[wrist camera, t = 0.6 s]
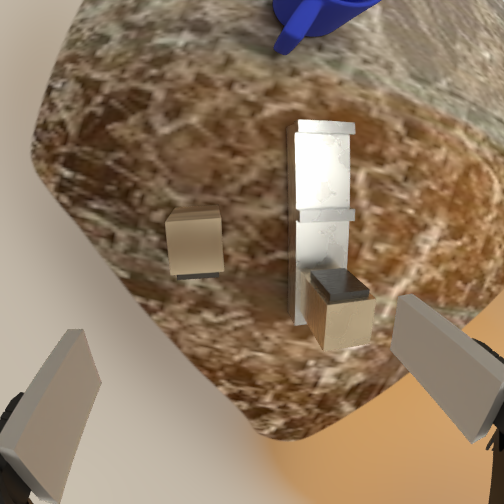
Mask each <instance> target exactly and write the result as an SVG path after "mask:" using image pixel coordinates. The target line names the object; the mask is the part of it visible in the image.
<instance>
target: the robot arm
mask: <svg viewBox="0 0 504 504" xmlns="http://www.w3.org/2000/svg"><path fill="white" fill-rule="evenodd" d="M390 350H391V351H392V352H393V353H394V355H395V356H396V357H397V358H398V359H399V360H400V361H401V362H402V364H403V365H404V366H405V367H406V368H407V369H408V370H409V371H410V373H411V374H412V375H413V376H414V377H415V378H416V379H417V380H418V382H419V383H420V384H421V385H422V386H423V387H424V389H425V390H426V391H427V392H428V393H429V394H430V396H431V397H432V398H433V399H434V400H435V401H436V403H437V404H438V405H439V406H440V407H441V408H442V410H443V411H444V412H445V413H446V414H447V415H448V417H449V418H450V419H451V420H452V421H453V423H454V424H455V425H456V426H457V427H458V429H459V430H460V431H461V432H462V433H463V435H464V436H465V437H466V438H467V439H468V441H469V442H470V443H471V444H473V443H474V442H476V441H478V440H480V439H481V438H483V437H485V436H486V435H487V433H488V431H489V430H490V428H491V426H492V424H494V425H495V426H496V427H497V429H496V431H495V433H494V434H493V436H492V438H491V440H490V441H489V443H488V444H487V447H486V450H489V448H490V446H491V445H492V443H494V447H493V449H492V451H493V467H492V479H491V488H490V496H489V504H504V358H502V357H501V356H500V357H499V355H498V354H497V353H496V352H495V351H492V349H491V348H490V347H488V346H487V345H486V344H485V343H482V342H481V341H478V340H476V339H473V338H470V337H469V336H468V335H467V334H465V333H464V332H463V331H461V330H460V329H459V328H457V327H456V326H455V325H454V324H452V323H451V322H450V321H448V320H447V319H446V318H444V317H443V316H442V315H440V314H439V313H438V312H436V311H435V310H434V309H432V308H431V307H430V306H428V305H427V304H426V303H424V302H423V301H421V300H420V299H419V298H417V297H416V296H415V295H413V294H408V295H403V296H398V302H397V310H396V317H395V323H394V330H393V336H392V342H391V347H390ZM101 383H102V382H101V380H100V377H99V374H98V372H97V369H96V366H95V363H94V360H93V357H92V355H91V352H90V349H89V346H88V343H87V339H86V336H85V333H84V330H83V329H69V330H67V331H66V333H65V334H64V335H63V337H62V338H61V340H60V341H59V342H58V344H57V345H56V347H55V348H54V350H53V351H52V352H51V354H50V355H49V357H48V358H47V360H46V361H45V363H44V364H43V365H42V367H41V368H40V370H39V372H38V373H37V374H36V376H35V377H34V379H33V381H32V382H31V384H30V385H29V387H28V388H27V390H26V392H25V393H23V392H20V393H19V394H18V395H17V396H16V397H14V398H13V399H12V400H11V401H10V403H9V404H8V406H7V407H6V409H5V412H3V414H2V415H1V417H0V504H33V503H32V501H31V500H30V498H29V495H30V492H31V491H32V492H33V493H34V494H35V495H36V496H37V497H38V498H39V499H40V500H42V501H45V502H49V503H53V504H60V501H61V498H62V495H63V491H64V488H65V485H66V481H67V478H68V474H69V472H70V469H71V465H72V462H73V459H74V456H75V453H76V450H77V447H78V445H79V442H80V439H81V436H82V433H83V430H84V427H85V425H86V422H87V419H88V417H89V414H90V411H91V409H92V406H93V404H94V401H95V398H96V396H97V393H98V391H99V388H100V386H101Z"/></svg>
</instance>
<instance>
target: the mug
mask: <svg viewBox="0 0 504 504" xmlns="http://www.w3.org/2000/svg"><path fill="white" fill-rule="evenodd" d="M380 1H381V0H273V9H274V12H275V15H276V17H277V18H278V20H279V21H280V22H281V23H282V24H283V25H284V26H285V27H284V28H283V30H282V32H281V34H280V35H279V37H278V39H277V41H276V43H275V45H274V50H275V51H276V52H278V53H280V54H282V55H287V54H289V53H290V52H291V51H292V50H293V49H294V48H295V47H296V46H297V45H298V44H299V42H300V41H301V40H302V39H303V38H304V36H310V37H317V36H323V35H326V34H329V33H331V32H332V31H334V30H336V29H337V28H339V27H340V26H342V25H343V24H345V23H346V22H348V21H349V20H351V19H352V18H354V17H356V16H357V15H359V14H360V13H362V12H364V11H365V10H367V9H368V8H370V7H372V6H373V5H375V4H377V3H378V2H380Z"/></svg>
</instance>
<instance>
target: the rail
mask: <svg viewBox="0 0 504 504" xmlns="http://www.w3.org/2000/svg"><path fill="white" fill-rule="evenodd" d="M294 122H295V124H294V125H291V126H289V127H286V133H287V172H288V313H289V315H290V317H291V319H292V321H293V323H294V325H303V324H308V326H309V327H310V329H311V331H312V333H313V334H314V336H315V338H316V340H317V341H318V343H319V345H320V347H321V348H322V350H323V351H330V350H336V349H342V348H348V347H353V346H359V345H364V344H370V338H371V331H372V325H373V318H374V311H375V304H376V298H375V297H374V296H373V295H371V294H370V293H369V290H370V289H368V288H367V287H366V286H365V285H364V284H363V283H361V282H360V281H359V280H358V279H357V278H356V277H355V276H353V275H352V274H351V273H350V272H349V271H348V270H347V255H348V236H349V221H355V209H353V208H350V137H349V135H353V134H355V123H351V122H337V121H320V120H296V121H294Z"/></svg>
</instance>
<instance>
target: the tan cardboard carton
mask: <svg viewBox="0 0 504 504" xmlns="http://www.w3.org/2000/svg"><path fill="white" fill-rule="evenodd" d="M165 227H166V238H167V248H168V257H169V266H170V274H171V275H177V280H185V279H200V278H215V277H219V272H224V261H223V244H222V226H221V215H220V210H219V205H204V206H189V207H175V209H174V210H173V211H172V213H171V214H170V216H169V217H168V218H167V220H166V221H165Z"/></svg>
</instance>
